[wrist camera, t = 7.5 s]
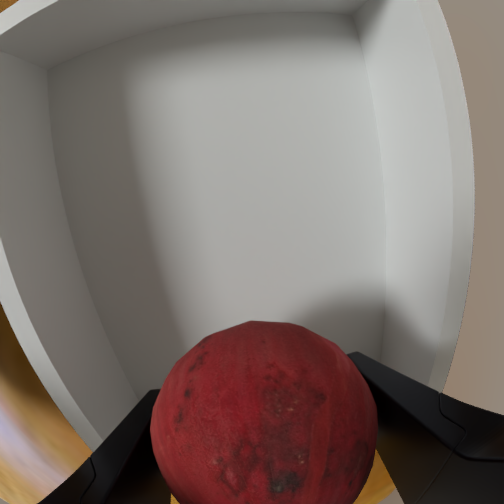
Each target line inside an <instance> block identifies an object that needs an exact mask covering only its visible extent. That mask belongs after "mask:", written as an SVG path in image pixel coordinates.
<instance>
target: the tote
mask: <svg viewBox="0 0 504 504" xmlns="http://www.w3.org/2000/svg"><path fill="white" fill-rule="evenodd" d="M474 214H475V182H474V160H473V148H472V137H471V129H470V121H469V114H468V108H467V102H466V96H465V91H464V86H463V81H462V76H461V72H460V68H459V64H458V60H457V56H456V53H455V49H454V46H453V42H452V39H451V36H450V32H449V29H448V26H447V23H446V20H445V18H444V15H443V12H442V10H441V7H440V4H439V2H438V0H19V1H18V2H16V3H15V4H13V5H12V6H10V7H9V8H7V9H6V10H4V11H3V12H1V13H0V302H1V304H2V307H3V309H4V311H5V314H6V316H7V318H8V320H9V322H10V325H11V327H12V329H13V331H14V333H15V335H16V337H17V339H18V341H19V343H20V345H21V347H22V349H23V351H24V353H25V355H26V356H27V358H28V360H29V362H30V364H31V365H32V367H33V369H34V371H35V372H36V374H37V376H38V377H39V379H40V381H41V382H42V384H43V385H44V387H45V389H46V390H47V392H48V393H49V395H50V396H51V398H52V399H53V401H54V402H55V404H56V405H57V407H58V408H59V409H60V411H61V412H62V414H63V415H64V416H65V418H66V419H67V420H68V422H69V423H70V424H71V426H72V427H73V428H74V430H75V431H76V432H77V433H78V435H79V436H80V437H81V438H82V440H83V441H84V442H85V443H86V445H87V446H88V447H89V448H90V449H91V450H92V452H94V451H95V450H96V449H97V448H98V447H99V446H100V444H101V443H102V442H103V441H104V440H105V439H106V438H107V437H108V436H109V435H110V433H111V432H112V431H113V430H114V429H115V428H116V427H117V426H118V425H119V423H120V422H121V421H122V420H123V419H124V418H125V417H126V416H127V415H128V413H129V412H130V411H131V410H132V409H133V408H134V407H135V406H136V405H137V403H138V402H139V401H140V400H141V399H142V398H143V397H144V396H145V394H146V393H147V392H148V391H149V390H151V389H161V388H162V385H163V383H164V381H165V379H166V377H167V375H168V374H169V372H170V371H171V369H172V368H173V366H174V364H175V363H176V362H177V361H178V360H179V359H180V358H181V357H182V356H184V355H185V354H186V353H187V352H188V351H189V350H191V349H192V348H193V347H194V346H195V345H196V344H197V343H199V342H200V341H201V340H202V339H203V338H204V337H206V336H208V335H211V334H213V333H215V332H218V331H221V330H224V329H227V328H230V327H233V326H236V325H239V324H242V323H244V322H247V321H250V320H253V321H269V322H287V323H292V324H296V325H300V326H303V327H305V328H307V329H309V330H310V331H312V332H314V333H316V334H318V335H320V336H322V337H324V338H326V339H328V340H330V341H332V342H334V343H336V344H337V345H338V346H339V347H340V348H341V350H342V351H343V352H344V353H345V354H348V353H352V352H355V351H358V352H360V353H362V354H364V355H366V356H368V357H370V358H372V359H374V360H376V361H378V362H380V363H382V364H384V365H386V366H388V367H390V368H392V369H394V370H396V371H398V372H400V373H402V374H404V375H406V376H408V377H410V378H412V379H414V380H416V381H418V382H420V383H422V384H424V385H426V386H428V387H430V388H432V389H435V390H437V391H438V392H439V393H440V392H441V393H442V391H443V388H444V385H445V382H446V379H447V376H448V373H449V370H450V366H451V363H452V359H453V355H454V352H455V348H456V344H457V340H458V336H459V332H460V327H461V323H462V318H463V313H464V308H465V302H466V296H467V289H468V284H469V277H470V269H471V259H472V249H473V236H474Z"/></svg>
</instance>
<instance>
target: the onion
mask: <svg viewBox="0 0 504 504" xmlns="http://www.w3.org/2000/svg"><path fill="white" fill-rule="evenodd" d="M150 433H151V440H152V447H153V452H154V455H155V458H156V461H157V464H158V466H159V469H160V472H161V474H162V476H163V479H164V481H165V483H166V485H167V486H168V488H169V490H170V492H171V493H172V495H173V496H174V497H175V498H176V500H177V501H178V502H179V503H180V504H353V502H354V501H355V500H356V499H357V497H358V496H359V494H360V492H361V490H362V489H363V487H364V485H365V483H366V481H367V479H368V476H369V474H370V471H371V468H372V466H373V461H374V455H375V449H376V442H377V434H378V419H377V406H376V403H375V401H374V398H373V396H372V393H371V391H370V388H369V386H368V384H367V382H366V381H365V379H364V378H363V376H362V375H361V373H360V372H359V370H358V369H357V367H356V366H355V365H354V363H353V362H352V360H351V359H350V358H349V357H348V356H347V355H346V354H345V353H344V352H343V351H342V350H341V348H340V347H339V346H338V345H337V344H336V343H334V342H332V341H330V340H328V339H326V338H324V337H322V336H320V335H318V334H316V333H314V332H312V331H310V330H309V329H307V328H305V327H303V326H300V325H296V324H292V323H287V322H269V321H253V320H250V321H247V322H244V323H242V324H239V325H236V326H233V327H230V328H227V329H224V330H221V331H218V332H215V333H213V334H211V335H208V336H206V337H204V338H203V339H202V340H201V341H200V342H199V343H197V344H196V345H195V346H194V347H193V348H192V349H191V350H189V351H188V352H187V353H186V354H185V355H184V356H182V357H181V358H180V359H179V360H178V361H177V362H176V363H175V364H174V366H173V368H172V369H171V371H170V372H169V374H168V375H167V377H166V379H165V381H164V383H163V385H162V388H161V390H160V392H159V395H158V397H157V399H156V402H155V404H154V406H153V412H152V418H151V426H150Z"/></svg>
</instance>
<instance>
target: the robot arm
mask: <svg viewBox="0 0 504 504" xmlns="http://www.w3.org/2000/svg"><path fill="white" fill-rule="evenodd" d="M346 355H347V356H348V357H349V358H350V359H351V360H352V362H353V363H354V365H355V366H356V367H357V369H358V370H359V372H360V373H361V375H362V376H363V378H364V379H365V381H366V382H367V384H368V386H369V388H370V391H371V393H372V396H373V398H374V401H375V403H376V406H377V419H378V434H377V442H376V449H377V451H378V453H379V455H380V457H381V459H382V461H383V463H384V465H385V467H386V469H387V471H388V473H389V475H390V477H391V478H392V480H393V482H394V484H395V486H396V488H397V490H398V492H399V494H400V496H401V498H402V500H403V502H404V504H504V415H501V414H498V413H494V412H491V411H488V410H484V409H481V408H478V407H475V406H472V405H469V404H466V403H464V402H461V401H459V400H456V399H454V398H452V397H449V396H447V395H445V394H443V393H441V392H440V393H439V392H438V391H437V390H435V389H432V388H430V387H428V386H426V385H424V384H422V383H420V382H418V381H416V380H414V379H412V378H410V377H408V376H406V375H404V374H402V373H400V372H398V371H396V370H394V369H392V368H390V367H388V366H386V365H384V364H382V363H380V362H378V361H376V360H374V359H372V358H370V357H368V356H366V355H364V354H362V353H360V352H358V351H355V352H352V353H348V354H346ZM160 390H161V389H151V390H149V391H148V392H147V393H146V394H145V396H144V397H143V398H142V399H141V400H140V401H139V402H138V403H137V405H136V406H135V407H134V408H133V409H132V410H131V411H130V412H129V413H128V415H127V416H126V417H125V418H124V419H123V420H122V421H121V422H120V423H119V425H118V426H117V427H116V428H115V429H114V430H113V431H112V432H111V433H110V435H109V436H108V437H107V438H106V439H105V440H104V441H103V442H102V443H101V444H100V446H99V447H98V448H97V449H96V450H95V451H94V452H93V453H92V454H91V456H90V457H88V459H87V460H86V461H85V462H84V463H83V464H82V465H81V466H80V467H79V468H78V469H77V470H76V471H75V472H74V473H73V474H72V475H71V476H70V477H69V478H68V479H67V480H65V481H64V482H63V483H62V484H61V485H60V486H59V487H57V488H56V489H55V490H54V491H53V492H51V493H50V494H49V495H48V496H47V497H45V498H44V499H43V500H42V501H40V502H39V503H37V504H170V502H171V492H170V490H169V488H168V486H167V485H166V483H165V481H164V479H163V476H162V474H161V472H160V469H159V466H158V464H157V461H156V458H155V455H154V452H153V447H152V440H151V433H150V426H151V418H152V412H153V406H154V404H155V402H156V399H157V397H158V395H159V392H160Z"/></svg>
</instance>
